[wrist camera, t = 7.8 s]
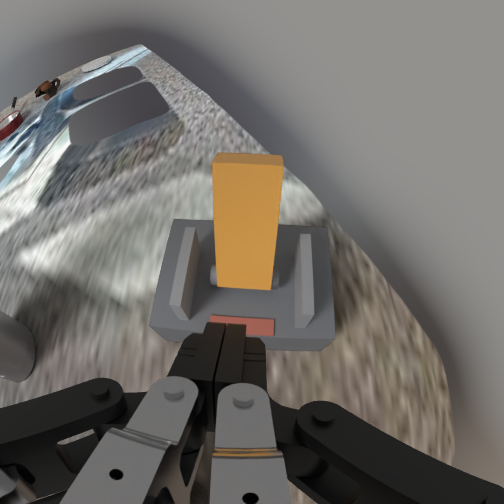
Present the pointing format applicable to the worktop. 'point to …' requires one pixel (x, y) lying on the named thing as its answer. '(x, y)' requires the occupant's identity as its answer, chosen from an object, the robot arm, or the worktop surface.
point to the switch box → (247, 290)
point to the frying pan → (10, 122)
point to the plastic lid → (96, 63)
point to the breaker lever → (246, 219)
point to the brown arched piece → (47, 89)
